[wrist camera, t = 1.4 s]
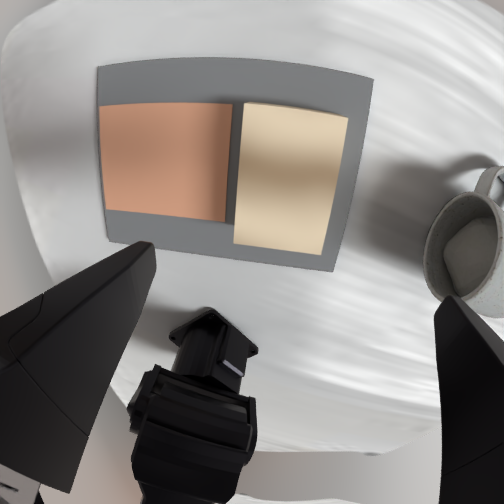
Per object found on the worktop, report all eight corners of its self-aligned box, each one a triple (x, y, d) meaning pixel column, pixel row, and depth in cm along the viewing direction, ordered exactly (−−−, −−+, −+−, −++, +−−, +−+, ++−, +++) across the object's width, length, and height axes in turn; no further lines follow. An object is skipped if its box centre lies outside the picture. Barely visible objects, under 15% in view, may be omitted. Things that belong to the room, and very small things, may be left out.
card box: (317, 236, 20) (320, 255, 18) (238, 226, 21) (233, 243, 19) (340, 114, 16) (348, 118, 14) (249, 101, 16) (244, 103, 14)
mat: (332, 269, 22) (333, 273, 22) (111, 239, 23) (108, 242, 22) (371, 79, 15) (374, 78, 14) (101, 66, 16) (97, 66, 15)
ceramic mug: (470, 286, 21) (507, 345, 15) (409, 259, 21) (447, 327, 14) (525, 188, 16) (582, 229, 9) (470, 140, 15) (540, 172, 9)
